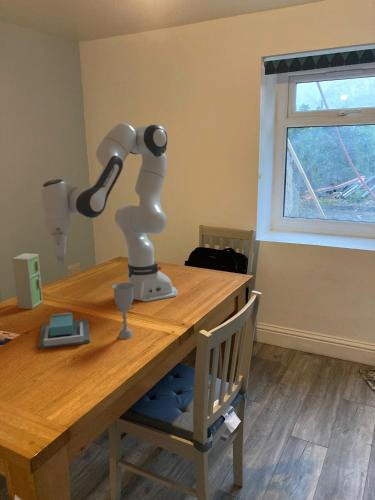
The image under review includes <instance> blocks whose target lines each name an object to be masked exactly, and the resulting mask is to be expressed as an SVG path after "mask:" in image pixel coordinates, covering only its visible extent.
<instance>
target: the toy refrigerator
mask: <svg viewBox="0 0 375 500" xmlns="http://www.w3.org/2000/svg"><path fill="white" fill-rule="evenodd" d="M12 266H13V275H14V285H15V293H16V300H17V302H16V303H17V307H18V309H25V310H26V309H27V310H33V309H34V308H36V307H38V306H39V305H41V304H42V303H43V302H44V298H43V289H42V279H41V267H40V258H39V254H38V253H28V252H27V253H26V252H24V253H22V254H19V255H17V256H15V257H13V258H12Z"/></svg>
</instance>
